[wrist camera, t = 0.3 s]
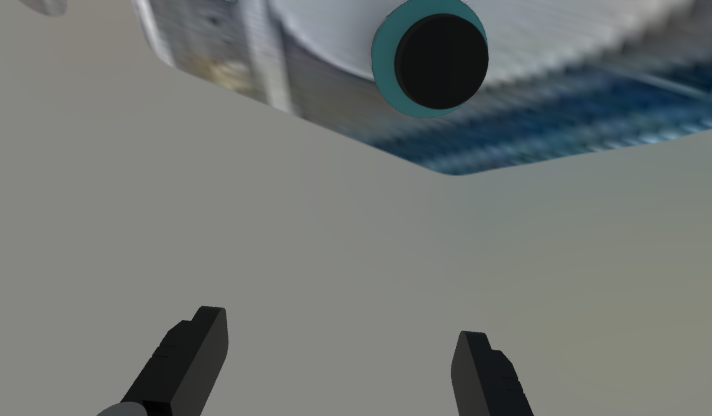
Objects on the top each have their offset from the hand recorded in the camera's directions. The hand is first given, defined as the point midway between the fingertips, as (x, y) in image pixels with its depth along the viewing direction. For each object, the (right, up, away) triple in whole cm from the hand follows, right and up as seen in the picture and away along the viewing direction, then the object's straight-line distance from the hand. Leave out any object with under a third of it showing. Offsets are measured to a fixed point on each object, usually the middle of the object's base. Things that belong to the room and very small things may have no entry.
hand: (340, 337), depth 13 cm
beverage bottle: (+5, +19, +21) cm, 29 cm away
